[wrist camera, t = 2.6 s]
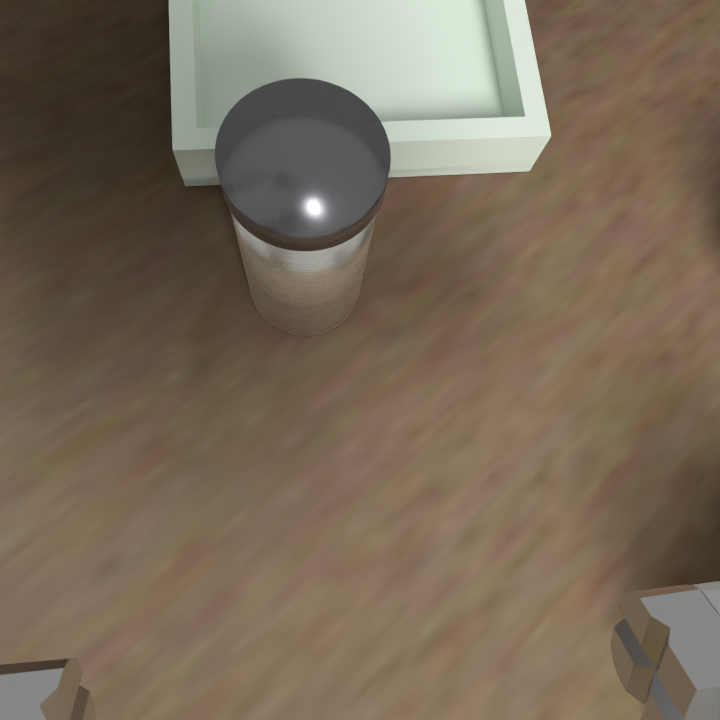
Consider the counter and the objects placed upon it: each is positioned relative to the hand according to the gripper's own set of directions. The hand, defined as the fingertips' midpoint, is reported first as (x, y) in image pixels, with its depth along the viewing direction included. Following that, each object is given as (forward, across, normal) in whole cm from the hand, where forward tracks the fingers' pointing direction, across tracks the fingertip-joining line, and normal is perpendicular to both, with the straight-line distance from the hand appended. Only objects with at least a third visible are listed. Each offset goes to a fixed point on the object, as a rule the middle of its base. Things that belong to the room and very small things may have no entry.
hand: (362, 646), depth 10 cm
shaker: (+20, 0, +2) cm, 20 cm away
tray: (+29, -3, -7) cm, 30 cm away
